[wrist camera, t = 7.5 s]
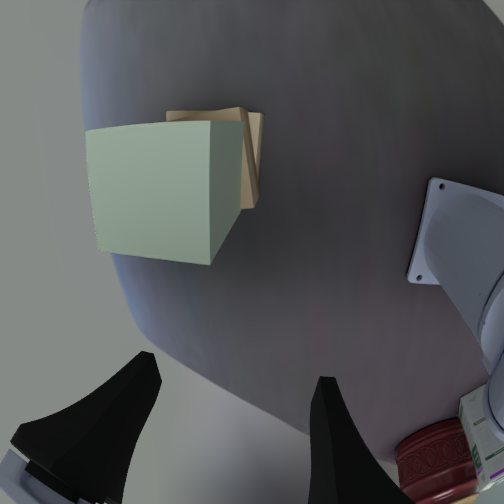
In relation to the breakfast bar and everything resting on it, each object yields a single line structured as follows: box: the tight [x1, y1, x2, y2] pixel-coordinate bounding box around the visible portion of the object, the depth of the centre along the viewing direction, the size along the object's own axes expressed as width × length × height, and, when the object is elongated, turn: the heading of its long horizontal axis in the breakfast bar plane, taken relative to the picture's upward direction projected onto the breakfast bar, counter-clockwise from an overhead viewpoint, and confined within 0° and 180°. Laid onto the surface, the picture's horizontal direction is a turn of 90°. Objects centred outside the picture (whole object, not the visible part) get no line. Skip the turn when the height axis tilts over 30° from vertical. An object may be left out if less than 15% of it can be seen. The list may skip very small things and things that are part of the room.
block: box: [86, 121, 244, 265], centre depth 11 cm, size 4×4×6 cm
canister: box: [395, 419, 480, 504], centre depth 22 cm, size 13×13×18 cm
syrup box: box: [459, 384, 504, 492], centre depth 18 cm, size 6×6×14 cm
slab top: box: [168, 107, 260, 209], centre depth 14 cm, size 5×5×2 cm
